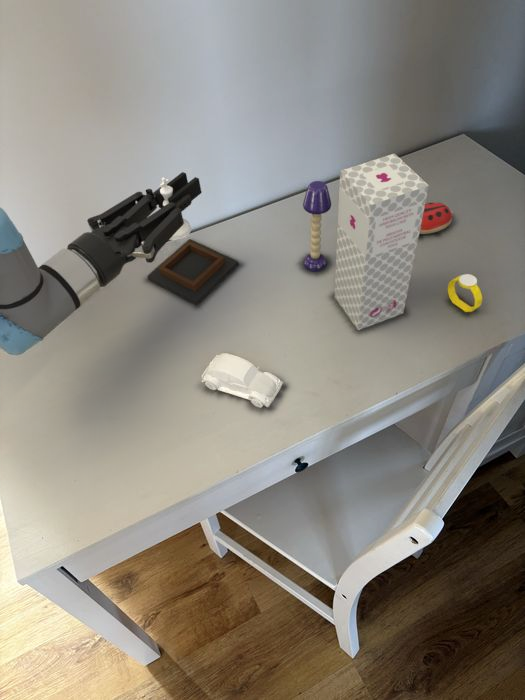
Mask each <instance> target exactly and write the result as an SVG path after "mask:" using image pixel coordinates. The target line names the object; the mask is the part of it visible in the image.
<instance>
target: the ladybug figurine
mask: <svg viewBox="0 0 525 700" xmlns="http://www.w3.org/2000/svg"><path fill="white" fill-rule="evenodd" d="M453 214H454V213H453V211H452V210H451V209H450V208H449V207H448V206H447V205H446V204H444V203H442V202H428V203H425V207H424V212H423V217H422V222H421V227H420V232H419V235H428V234H434V233H436V232H440V231H442V230H444V229H446V228H447V227H449V226H450V225H451V223H452V220H453Z"/></svg>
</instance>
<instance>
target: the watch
mask: <svg viewBox="0 0 525 700" xmlns="http://www.w3.org/2000/svg"><path fill="white" fill-rule="evenodd" d="M456 282H458V285H459V286H460V287H461V288H463V289H465V290H466V289H467V290H470V292H471V293H472V295H473V299H474V305H473V306H470V304H467V302H465V301H464V300H461V299H460V298H459V296H458V295H457V293H456V287H455V285H456ZM477 284H478V278H477V277H475V276H474V275H473V274H470V273H464V274H461V275H457V276H456V277H454V278H453V279H452V280H451V281H449V283H448V284H447V293H448V294H447V295H448V298H449V300H450V301H451V303H452V304H453V305H455V306H456V307H457V308H459V309H461V310H462V311H463V312H464V313H472V312H474V311H475V310H477V309H478V308H479V307H480V306H481V305H482V302H483V295H482V292H481V288H480V287H479V286H478V285H477Z"/></svg>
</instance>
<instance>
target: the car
mask: <svg viewBox="0 0 525 700" xmlns="http://www.w3.org/2000/svg"><path fill="white" fill-rule="evenodd" d="M259 369H260V366H257V367H256V366H255V365H254V364H253V363H252V362H250V361H249V360H247V359H244V358H242V357H240V356H237V355H234V354H231V353H227V352H222V353H220V354H216V355H215V357H214V358H213V359H212V360H211V361H210V362H209V364H208V366H207V367H206V368H205V370H204V371H203V373H202V374H201V376H200V378H201V383H204V384H205V386H206V387H207V388H208V389H209V390H211V391H216V390H218V391H220V392H223V393H226V394H229V395H232V396H236V397H239V398H242V399H246V400H249V401H250V402H251V403H252V405H253V406H254V407H257V408H261V409H262V408H263V407H266V408H269V407H270V406H271V404H272V403H273V402H274V400H275V398H276V397H277V395H278V393H279V392H280V390H281V388H282V386H283V383H284V382H283V380H281V379H280V378H279V377H277V376H276V375H274V374H273V373H271V372H268V371H264V372H262V371H261V370H259Z"/></svg>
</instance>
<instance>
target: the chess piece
mask: <svg viewBox="0 0 525 700" xmlns="http://www.w3.org/2000/svg"><path fill="white" fill-rule="evenodd" d="M169 182H170V179H168V178H165V177H162V178H161V183H159V188H160V187H161V189H160V193H161V195H162V196H163V197H164V199H165V200H164V201H163V206H165V205H167V204H168V203H169V202H168V198H169V197H171V196H172V193H173V189H172V187H170V186H167V184H168V183H169ZM183 221H184V224H183V225H182V226H181V227H180V229H179V230H178V231H177V232H176V233H175V234H174V235H173V236H172V237H171V238H170V239H169V240H168V241H179V240H183V239H185V238H186V237H188V236H189V235H190V233H191V232H192V226H191V224H190V221H189V220H187V219H185V218H183Z"/></svg>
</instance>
